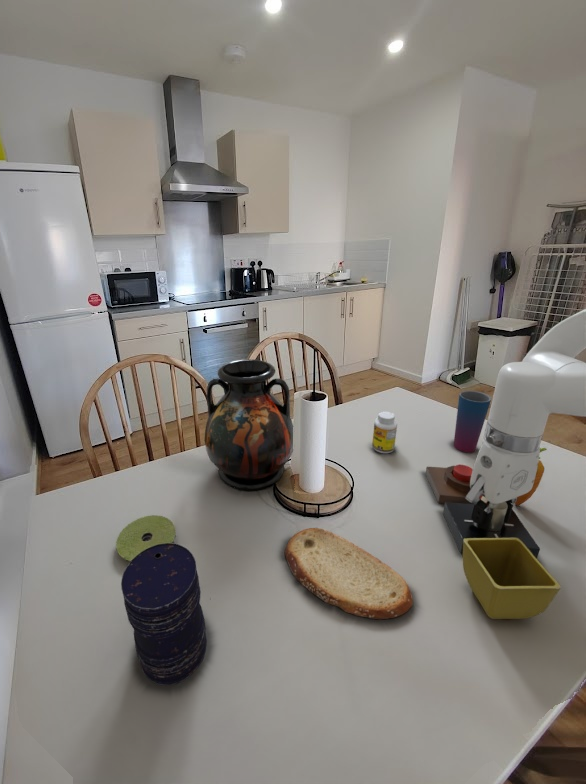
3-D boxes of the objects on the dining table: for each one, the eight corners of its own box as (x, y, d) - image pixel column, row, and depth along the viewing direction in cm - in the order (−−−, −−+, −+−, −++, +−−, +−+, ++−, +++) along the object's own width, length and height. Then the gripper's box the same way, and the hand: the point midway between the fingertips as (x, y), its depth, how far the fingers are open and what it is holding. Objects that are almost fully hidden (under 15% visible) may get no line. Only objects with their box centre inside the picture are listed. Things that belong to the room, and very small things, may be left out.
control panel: (507, 519, 71) (511, 506, 70) (535, 561, 62) (540, 548, 61) (442, 513, 73) (445, 501, 72) (460, 553, 64) (463, 540, 63)
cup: (485, 454, 91) (497, 401, 86) (458, 454, 91) (469, 402, 86) (470, 439, 97) (480, 389, 92) (444, 440, 98) (454, 390, 92)
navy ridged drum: (213, 671, 49) (203, 595, 43) (139, 698, 46) (118, 621, 41) (200, 604, 58) (191, 534, 52) (138, 624, 55) (121, 553, 50)
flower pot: (452, 577, 60) (462, 537, 57) (506, 577, 59) (518, 536, 56) (483, 632, 52) (496, 588, 48) (545, 632, 51) (563, 588, 48)
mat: (138, 580, 62) (136, 572, 62) (107, 546, 70) (105, 539, 69) (188, 540, 70) (187, 533, 69) (155, 514, 77) (154, 507, 76)
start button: (469, 471, 79) (471, 465, 79) (476, 483, 76) (478, 476, 75) (450, 470, 80) (451, 464, 80) (456, 481, 77) (457, 475, 76)
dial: (486, 512, 69) (492, 490, 67) (506, 527, 65) (513, 504, 63) (471, 518, 68) (476, 496, 66) (490, 534, 64) (497, 511, 62)
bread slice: (422, 612, 55) (425, 595, 53) (310, 636, 52) (311, 619, 51) (366, 525, 71) (368, 510, 70) (279, 540, 69) (279, 525, 67)
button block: (480, 477, 83) (484, 463, 81) (500, 508, 74) (505, 493, 72) (425, 473, 85) (427, 459, 84) (438, 503, 76) (441, 488, 74)
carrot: (505, 493, 78) (521, 434, 72) (533, 504, 74) (553, 443, 69) (499, 505, 75) (516, 444, 69) (528, 517, 71) (549, 454, 66)
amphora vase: (199, 500, 80) (185, 387, 70) (217, 447, 100) (208, 352, 90) (295, 504, 78) (296, 387, 67) (294, 449, 97) (294, 352, 87)
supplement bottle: (368, 444, 98) (371, 411, 94) (386, 441, 99) (390, 408, 95) (378, 455, 93) (382, 421, 89) (398, 452, 94) (402, 418, 90)
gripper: (497, 459, 54) (474, 550, 60) (571, 435, 59) (542, 521, 65) (454, 435, 60) (438, 519, 67) (524, 415, 65) (502, 495, 72)
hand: (489, 519), depth 66 cm, fingers closed on dial, 4 cm apart
